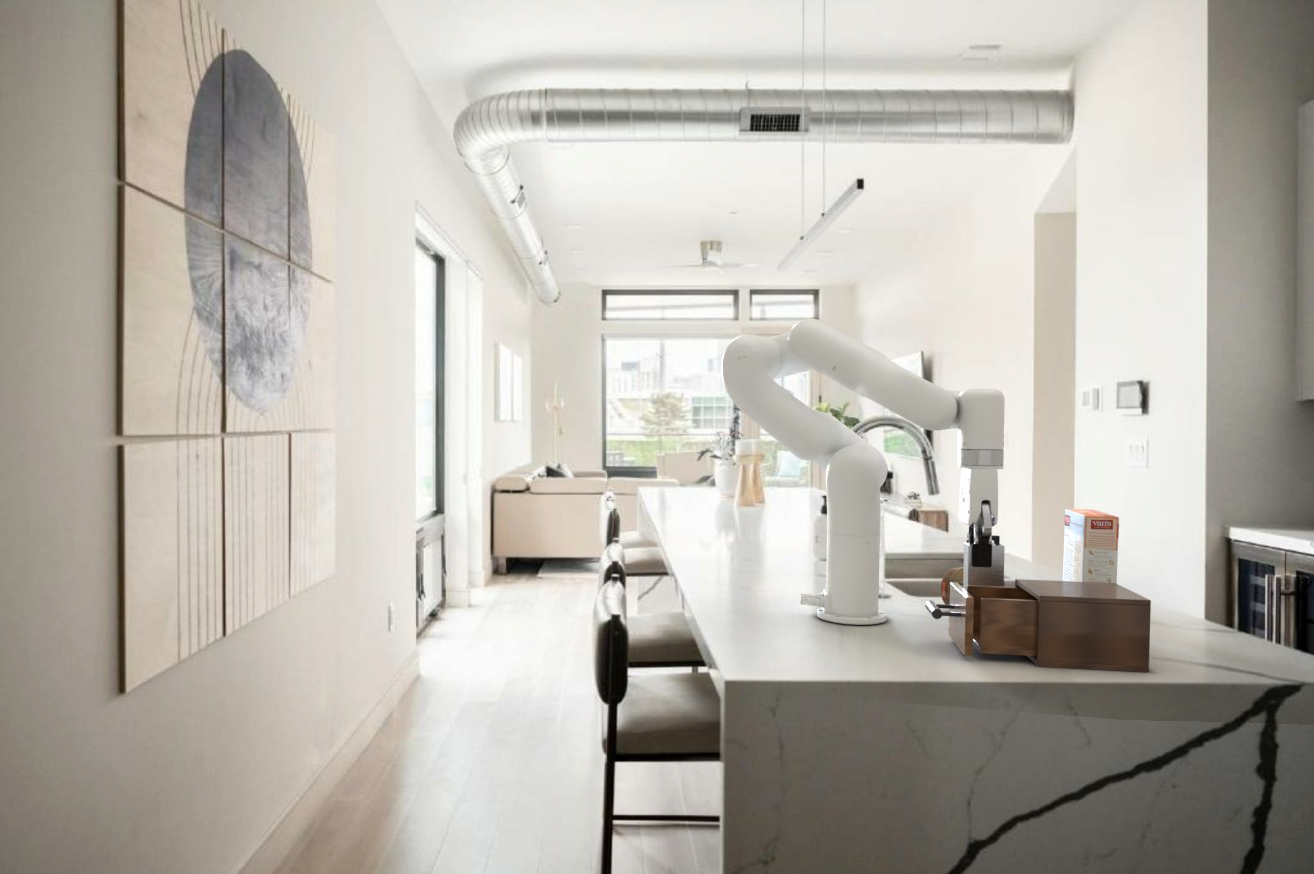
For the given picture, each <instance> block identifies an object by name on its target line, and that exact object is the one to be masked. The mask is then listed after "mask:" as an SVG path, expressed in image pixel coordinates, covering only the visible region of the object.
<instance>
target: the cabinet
mask: <svg viewBox="0 0 1314 874" xmlns="http://www.w3.org/2000/svg"><path fill="white" fill-rule="evenodd" d="M1014 587H1021V588H1022V589H1024V590H1025V591H1026V592H1028V593H1029V594H1031V595H1032V596H1034V597H1035V598H1036V599H1038V622H1037V656H1027V657H1028V659H1029V660H1030V661H1032V662H1033V663H1034V664H1035V665H1036V666H1037V667H1043V668H1063V669H1081V670H1100V671H1101V670H1102V671H1103V670H1104V671H1118V672H1119V671H1120V672H1136V673H1137V672H1139V673H1150V649H1151V648H1150V645H1151V643H1150V642H1151V641H1150V640H1151V639H1150V638H1151V610H1152V609H1151V607H1152V600H1151V599H1149V598H1147V597H1145V596H1143V595H1141V594H1139V593H1137V592H1135V591H1132V590H1130V589H1129V588H1127V587H1124V586H1122V585H1120V584H1118V583H1117V584H1116V583H1099V582H1074V581H1063V580H1051V579H1050V580H1049V579H1048V580H1047V579H1045V580H1044V579H1022V578H1015V580H1014Z"/></svg>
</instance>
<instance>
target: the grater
mask: <svg viewBox="0 0 1314 874" xmlns="http://www.w3.org/2000/svg"><path fill="white" fill-rule="evenodd" d="M1000 538H1001V537H1000V535H996V534H994V535H993V534H992V566H991V567H973V566H972V543H974V535H969V542H967V541H964V542H963V567H964V570H963V588H964V589H965V590H967V585H977V586H1001V587H1004V582H1005V545H1003V544H1001V542H1000V540H1001V539H1000Z"/></svg>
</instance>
